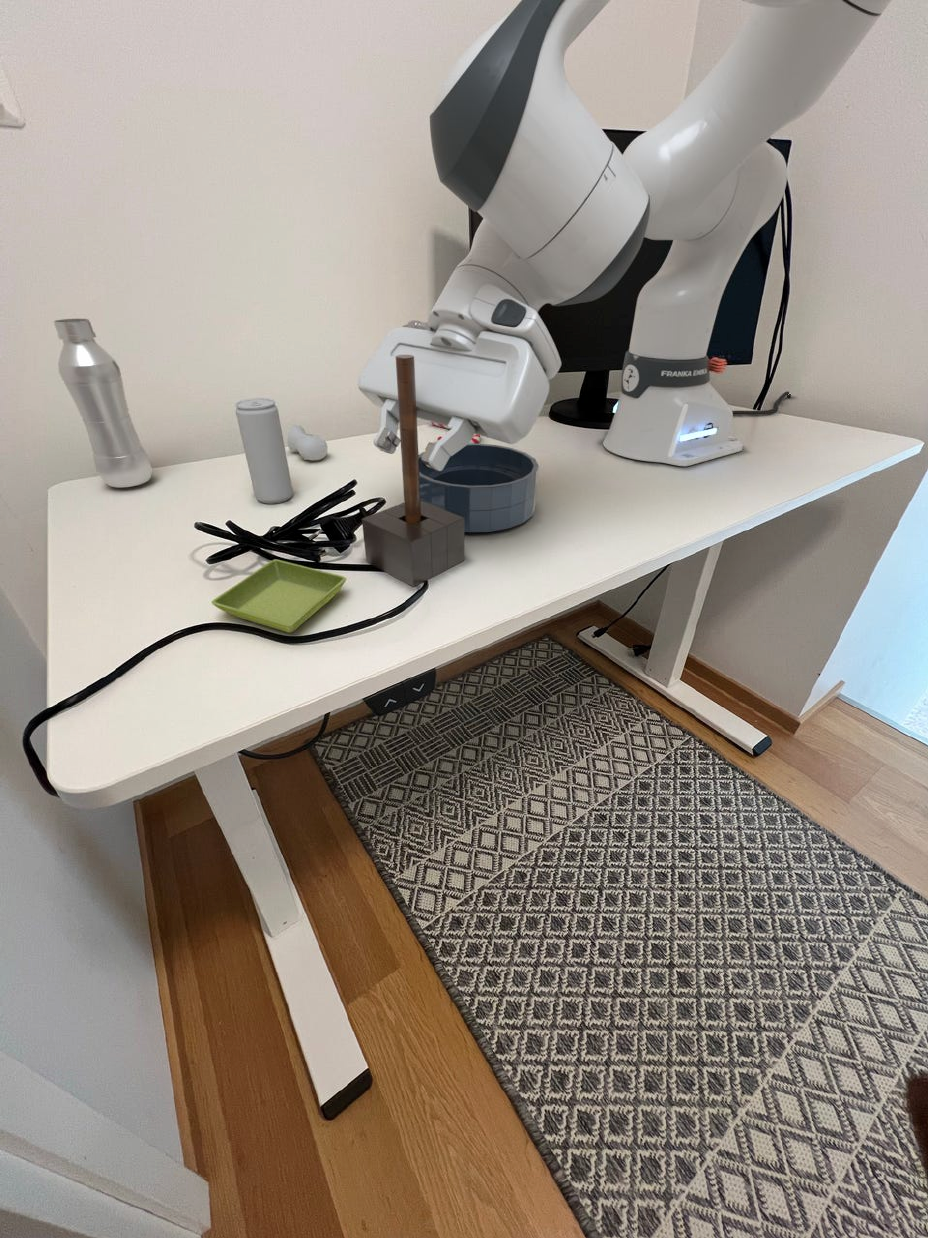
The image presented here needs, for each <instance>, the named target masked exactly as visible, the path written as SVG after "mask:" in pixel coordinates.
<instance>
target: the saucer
mask: <svg viewBox="0 0 928 1238" xmlns="http://www.w3.org/2000/svg"><path fill="white" fill-rule="evenodd" d="M346 581H347V578H346V577H345V576H343V575H340V574H336V573H332V572H330V571H329V572H327V571H324V570H320V569H316V568H312V567H308V566H304V565H301V564H297V563H293V562H289V561H285V560H280V559H275V558H274V559H272V560H270V561H269V562H267V563H266V564H264V565H263V566H262V567H260V568H259V569H257V570H256V571H254V572H252V573H251V574H250V575H249V576H247V577H245V578H244V579H242V580H241V581H240V582H238V583H237V584H235V585H234V586H232V587H231V588H229V589H228V590H226V591H225V592H223V593H221V594H220V595H218V596H217V597H215V598H214V599H213V600H212V601H211V604H212V605H213V606H214V607H216V608H217V609H219V610H220V611H222V612H224V613H226V614H228V615H230V616H234V617H236V618H238V619H241V620H242V619H243V620H245V621H249V622H252V623H256V624H259V625H261V626H266V627H268V628H271V629H275V630H277V631H278V630H279V631H282V632H284V633H288V634H290V633H293V632H295V631H296V630H297V629H298V628H299V627H300V626H301V625H303V624H304V623H305V622H307V620H308V619H309V618H311V617H312V616H313V615H314V614H316V613H317V611H319V610H320V609H321V608H323V606H325V605H326V604H327V603H328V602H330V601H331V600H332V599H333V598H334V597H335V596H336V595H337V594H338V593H339V591H340V590H341V589H342V587H343V586H344V585H345V583H346Z"/></svg>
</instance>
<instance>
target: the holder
mask: <svg viewBox="0 0 928 1238" xmlns="http://www.w3.org/2000/svg"><path fill="white" fill-rule="evenodd" d="M420 502H421V522H419V523H417V524H414V525H411V524H409V523H407V522H406V521H405V504H404V502H402V503H399V504H396V505H394V506H391V507H388V508H386V509H384V510H381V511H377V512H376V513H373V514H371V515H368V516H365V517H363V518H361V526H362V534H363V543H364V552H365V561H366V563H368V564H369V565H372V566H374V567H375V568H377V569H378V570H380V571H382V572H385V573H387V574H388V575H390V576H392V577H394V578H396V579H398V580H399V581H401V582H403V583H405V584H407V585H409V586H411V587H413V588H414V587H417V586H419V585H420V584H422V583H424V582H426V581H428V580H430V579H432V578H434V577H436V576H438V575H440V574H441V573H443V572H445V571H447V570H449V569H451V568H453V567H454V566H457V565H458V564H460V563H462V562H464V561H465V532H464V518H463V517H461V516H458V515H456V514H453V513H451V512H448V511H446V510H444V509H441V508H439V507H436V506H434V505H431V504H429V503H426V502H424V501H421V500H420Z"/></svg>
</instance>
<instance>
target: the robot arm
mask: <svg viewBox="0 0 928 1238" xmlns="http://www.w3.org/2000/svg"><path fill="white" fill-rule="evenodd" d="M742 1H743V2H746V3H748V4H752V5H754V7H753V9H752V11H751V12H750V14H749V15H748V17H747V18H746V20H745V22H744V23H743V25H742V27H741V28H740V30H739V31H738V33H737V35H736V36H735V38H734V39H733V41H732V42H731V44H730V45H729V47H728V48H727V49H726V51H725V52H724V53H723V55H721V57H720V58H719V60H718V61H717V62H716V64H715V65H714V66H713V68H711V70H710V71H709V72H708V73H707V74H706V76H704V78H703V79H702V80H701V82H700V83H699V84H698V85H697V86H696V87H695V88H693V89H694V90H692V92H690V94H689V95H687V97H686V98H685V99H684V100H683V101H682V102H681V103H680V104H679V105H678V106H677V107H676V108H675V109H674V110H673V111H672V112H671V113H670V114H668V115H667V116H666V117H664V119H663V120H662V121H660V122H658V123H657V124H656V125H655V126H654V127H652V128H650V129H648V130H646V131H644V132H643V133H642V134H639V135H638V136H637V137H636V138H634V139H633V140H632V141H631V142H630V144H628V146H627V147H626V149H625V150H624V152H623V153H622V152H621V151H620V149H619V148H618V146H616V144H615V142H613V141H611V140H610V138H609V137H608V136H607V134H606V133H605V132H604V130H603V129H602V127H601V126H600V125H599V123H598V121H597V120H596V119H595V118H594V116H593V115H592V113H591V112H590V110H589V109H588V108H587V106H586V105H585V104H584V102H583V101H582V99H581V98H580V97H579V95H578V93H576V91H575V90H574V88H573V87H572V85H571V84H570V81H569V80H568V77H567V74H566V72H565V55H566V52H567V50H568V48H569V47H570V46H571V45H572V43H573V42H574V41H575V40H576V39H577V38H578V37H579V36H580V35H581V34H582V33H583V32H584V30H585V29H586V28H587V27H588V25H590V24H591V22H593V20H594V19H595V18H596V17H597V16H598V15H599V14H600V12H601V11H602V10H603V9H604V8H605V7H606V6H607V5H608V3H610V2H611V0H520V2H519V3H517V5H516V6H514V7H513V8H512V9H511V10H510V11H509V12H507V13H506V14H505V15H504V16H503V17H502V18H500V19H499V20H498V21H497V22H495V23H494V24H493V25H492V26H490V27H489V28H488V29H487V30H486V31H483V33H482V34H481V35H480V36H478V37H477V38H476V40H474V41H473V42H472V43H471V44H470V45H469V46H468V47H467V49H466V50H465V51H464V52H463V53H462V54H461V55H460V56H459V57H458V59H457V60H456V61H455V63H454V64H453V66H452V67H451V69H450V70H449V72H448V74H447V75H446V76H445V78H444V80H443V82H442V84H441V86H440V88H439V91H438V93H437V96H436V98H435V102H434V104H433V108H432V112H431V113H430V115H429V129H430V130H429V131H430V132H429V133H430V140H431V141H430V142H431V148H432V153H433V160H434V164H435V167H436V169H435V170H436V173H437V176H438V180H439V183H441V184H442V185H443V186H445V188H447V189H448V190H449V191H450V192H451V193H452V194H454V195H455V196H456V197H457V198H458V199H459V200H460V201H462V203H464V204H465V205H466V206H467V207H468V208H469V209H470V210H472V212H474V213H476V212H477V213H478V214H479V216H481V217H482V220H481V222H480V223H479V226H478V227H477V229H476V231H475V233H474V236H473V239H472V244H471V248H470V251H469V252H468V254H467V255H466V257H465V258H464V259H463V260H462V261H460V262H459V263H458V264H457V265H456V267H455V269H454V270H453V272H452V273H451V275H450V276H449V279H448V280H447V283H446V284H445V286H444V288H443V289H442V291H441V293H440V295H439V296H438V298H437V300H436V302H435V304H434V305H433V307H432V309H431V311H430V312H429V314H428V317H427V322H423V321H420V320H413V319H412V320H409V321H408V322H407V323H406V324H404V325H402V326H399V327H396V328H394V329H392V330H391V331H390V332H389V333H388V334H387V335H386V336H384V338H383V339H382V340H381V342H380V343H379V345H378V346H377V347H376V348H375V350H374V351H373V353H372V354H371V355H370V358H369V359H368V360H367V362H366V363H365V365H364V367H363V368H362V370H361V371H360V373H359V375H358V379H357V380H358V381H357V382H358V383H357V387H358V390H359V391H360V392H361V393H362V394H363V395H364V396H365V397H366V398H367V399H368V400H369V401H370V402H371V403H372V404H373V405H374V406H375V407H378V408H380V424H379V426H380V428H379V429H378V431H377V433H376V434H375V437H374V438H373V445H374V446H375V447H376V448H377V449H378V450H380V451H381V452H383V453H386V454H390V455H393V454H395V452H396V449H397V447H399V445H400V444H401V439H400V437H399V436H398V430H399V425H400V423H399V406H398V390H397V374H396V356H398V355H413V356H414V362H415V386H416V409H417V419H421V420H423V421H427V422H431V423H432V422H434V423H438V424H442V425H445V426H448V428H449V429H448V431H447V432H446V433H445V434H444V435H443V436H441V437H442V438H441V439H440V440H439V441H437V442H435V443H433V442H430V441H429V442H428V443H427V445H426V447H425V451H423V452H424V453H423V452H422V453H423V454H422V456H421V460H422V462H423V463H425V464H426V466H427V467H430V468H432V469H435V470H438V471H442V470H443V468H444V466H445V465H446V463H447V461H448V459H449V458H450V456H453V455H454V454H455V453H457V452H458V451H459V450H461V449H462V448H463V447H465V446H466V445H468V444H469V443H470V441H471V439H472V437H473V436H474V434H477V435H480V437H484V438H487V439H492V440H494V441H498V442H502V443H505V444H509V445H514V444H517V443H518V442H520V441H522V440H523V439H525V438H526V437H527V436H528V435H529V433H530V432H531V431H532V428H533V427H534V425H535V423H536V421H537V419H538V418H539V416H540V413H541V411H542V410H543V407H544V406H545V403H546V400H547V399H548V395H549V393H550V387H551V384H550V380H552V379H553V378H554V377H555V376H556V375H557V374H558V372H559V371H560V369H561V366H562V360H561V357H560V354H559V351H558V349H557V347H556V343H555V342H554V340H553V338H552V336H551V334H550V332H549V330H548V328H547V326H546V324H545V323H544V321H543V319H542V318H541V316H540V315H539V311H540V310H541V308H542V307H543V306H544V305H546V304H549V305H551V306H552V307H563V306H570V305H576V304H582V303H589V302H593V301H596V300H598V299H600V298H601V297H603V296H605V295H606V294H608V293H609V292H610V291H611V290H613V288H614V287H615V286H616V285H617V284H618V283H619V281H620V280H621V279H622V277H624V275H625V274H626V272H627V271H628V269H629V268H630V267H631V265H632V263H633V262H634V260H635V258H636V256H637V255H638V253H639V251H640V249H641V247H642V245H643V241H644V238H645V239H649V240H653V241H672V244H671V246H670V249H669V251H668V253H667V256H666V258H665V259H664V262H663V264H661V267H660V269H659V270H658V271H657V273H655V275H654V276H653V277H651V278H650V279H649V280H648V281H647V282H645V284H644V285H643V286H642V288H641V290H640V291H639V293H638V296H637V299H636V304H635V310H634V317H633V323H632V328H631V329H632V330H631V335H630V340H629V341H630V342H629V346H628V347H629V348H628V350H626V352H625V353H624V354H625V355H624V359H623V364H622V372H621V385H620V386H621V387H620V388H621V389H620V393H619V398H618V400H617V403H616V404H615V405H614V406H613V410H612V413H614V415H613V417H612V420H611V423H610V426H609V429H608V431H607V433H606V436H605V437H604V439H603V442H602V446H603V447H604V448H605V449H606V451H607V450H608V451H609V452H610V453H612V454H615V455H617V456H621V457H623V458H627V459H632V460H636V461H643V462H651V463H662V464H668V465H673V466H677V467H678V466H679V467H690V466H694V465H697V464H701V463H703V462H708V461H710V460H714V459H717V458H721V457H724V456H725V457H726V456H728V455H732V454H735V453H738V452H742V451H743V446H744V444H743V443H742V442H741V441H740V440H739V439H737V438H736V437H734V436H732V435H731V432H732V427H733V420H734V415H735V416H738V415H739V416H743V415H744V416H763V415H770V414H774V413H776V412H777V411H778V410H779V404H780V403H781V402H782V401H783V400H784V398H785V397H786V398H787V399H792V394H789V392H790V391H788V390H787V391H785V392H783V393H782V394H781V395H780V396H779V397H778V398H777V399H776V400H775V402H774V403H773V408H771V409H766V410H733V409H732V407H731V406H730V404H728V403H727V401H725V399H724V398H723V397H722V396H721V395H720V393H719V392H718V391H717V390H716V389H715V388H714V387H713V385H712V384H711V383H710V382H711V376H710V375H711V374H710V373H715V374H717V375H720V374H722V373H724V371H725V370H726V369H727V366H728V362H727V360H726V359H725V358H719V357H713V358H711V359H709V356H708V355H707V353H708V348H709V344H710V341H711V337H712V333H713V330H714V325H715V321H716V317H717V315H718V311H719V307H720V304H721V300H722V297H723V295H724V291H725V289H726V286H727V284H728V282H729V280H730V277H731V275H732V274H733V271H734V270H735V267H736V265H737V264H738V262H739V260H740V259H741V256H742V255H743V252H744V250H746V247H747V246H748V244H749V243H750V241H751V239H752V238H753V237H754V235H755V234H756V233H758V231H759V230H760V229H761V228H762V227H763V226H764V225H765V224H766V223H767V222H768V221H769V220H770V219H771V218H772V217H773V216H774V214H775V212H776V211H777V209H778V207H779V206H780V204H781V202H782V199H783V197H784V194H785V190H786V187H787V181H788V167H787V163H786V160H785V157H784V155H783V154H782V152H781V151H779V150H778V149H777V148H775V147H774V146H773V145H772V144H770V143H768V140H769V139H770V138H772V137H773V136H774V135H776V133H778V132H779V131H781V130H782V129H783V128H784V127H786V126H787V125H789V124H791V123H792V122H794V121H796V120H797V119H799V118H801V117H802V116H803V115H805V114H806V113H807V112H808V111H809V110H811V108H812V107H814V106H815V105H816V103H818V101H819V100H820V98H821V97H822V96H823V94H824V93H825V92H826V91H827V89H828V87H830V85H831V84H832V82H833V81H834V79H835V78H836V77H837V76H838V74H839V72H841V70H842V68H843V67H844V66H845V65H846V63H847V62H848V60H849V59H850V58H851V56H853V54H854V52H855V51H856V50H857V48H858V47H859V46H860V44H861V43H862V42H863V40H864V39H865V37H866V36H867V35H868V34H869V32H870V31H871V30H872V28H873V27H874V25H876V23H877V21H878V20H879V19H880V17H881V16H882V14H883V13H884V12H885V10H886V9H887V8H888V7H889V4H891V2H892V0H742ZM788 394H789V395H788Z"/></svg>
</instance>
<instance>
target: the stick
mask: <svg viewBox="0 0 928 1238" xmlns="http://www.w3.org/2000/svg"><path fill="white" fill-rule="evenodd" d="M396 374H397V390H398V406H399V436H400V437H399V439H400V440H401V442H400V453H401V454H400V455H401V471H402V486H403V500H404V502H403V503H404V504H405V521H406V522H407V523H409V524H411V525H414V524H417V523H419V522H421V502H420V479H419V456H418V455H419V439H418V437H419V434H418V418H417V409H416V386H415V362H414V356H413V355H398V356H396Z"/></svg>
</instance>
